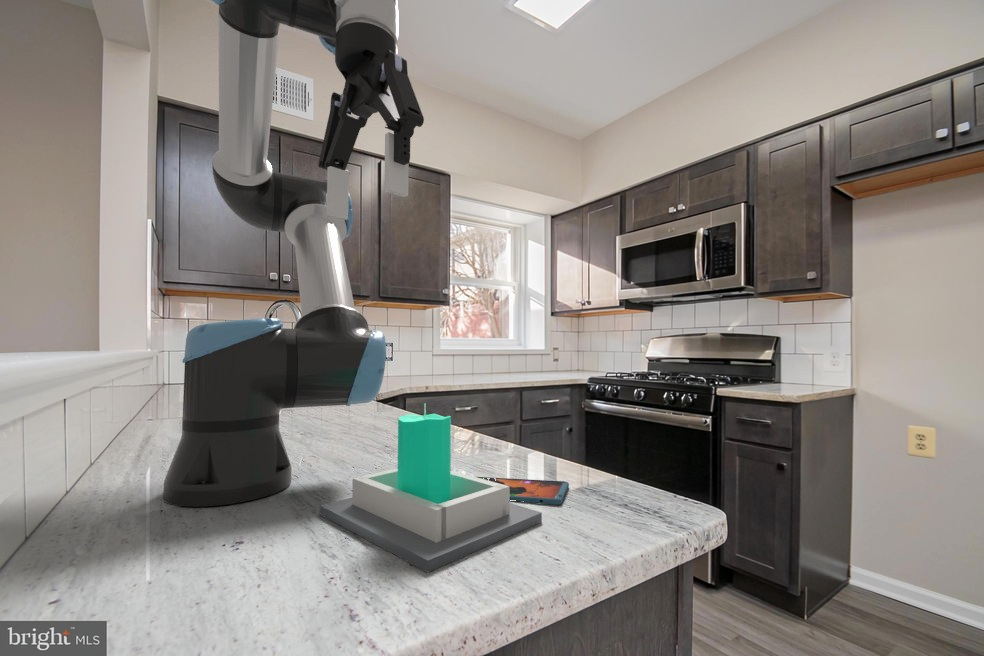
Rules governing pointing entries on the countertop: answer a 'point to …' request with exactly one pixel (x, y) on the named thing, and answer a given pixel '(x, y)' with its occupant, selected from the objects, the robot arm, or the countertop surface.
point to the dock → (430, 518)
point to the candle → (425, 456)
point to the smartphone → (534, 490)
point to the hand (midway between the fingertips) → (364, 206)
